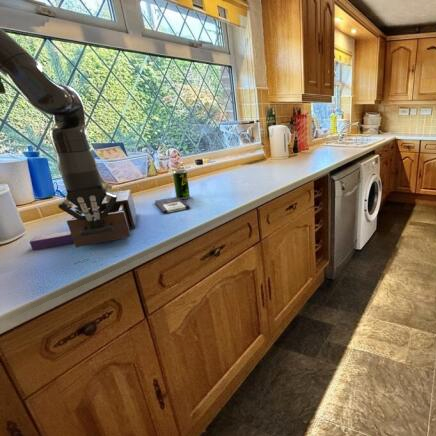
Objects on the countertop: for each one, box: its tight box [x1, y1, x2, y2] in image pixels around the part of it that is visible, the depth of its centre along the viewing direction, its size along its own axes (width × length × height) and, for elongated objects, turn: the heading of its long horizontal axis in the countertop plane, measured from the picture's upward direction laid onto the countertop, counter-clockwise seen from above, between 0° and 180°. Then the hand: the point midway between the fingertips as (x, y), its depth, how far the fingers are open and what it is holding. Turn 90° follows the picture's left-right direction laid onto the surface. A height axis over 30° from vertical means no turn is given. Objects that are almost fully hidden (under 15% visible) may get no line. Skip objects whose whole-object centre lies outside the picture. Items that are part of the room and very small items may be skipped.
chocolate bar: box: [154, 196, 190, 214], centre depth 120 cm, size 9×1×18 cm
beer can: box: [172, 168, 191, 200], centre depth 129 cm, size 5×5×12 cm
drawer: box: [66, 203, 132, 248], centre depth 88 cm, size 19×13×8 cm
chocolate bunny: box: [103, 182, 113, 193], centre depth 120 cm, size 6×8×10 cm
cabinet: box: [72, 189, 138, 230], centre depth 99 cm, size 16×14×10 cm
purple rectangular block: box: [29, 230, 74, 251], centre depth 87 cm, size 9×4×3 cm, turn 119°
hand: (98, 232), depth 82 cm, fingers closed
